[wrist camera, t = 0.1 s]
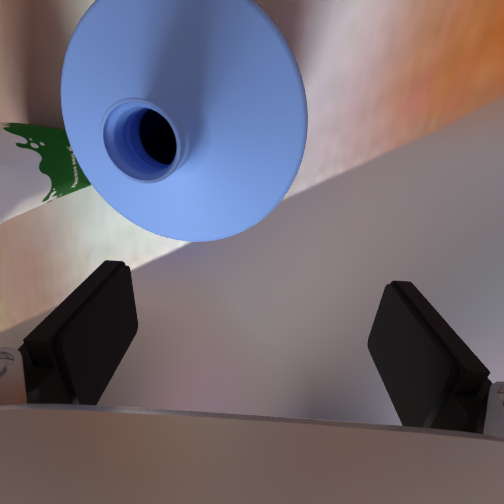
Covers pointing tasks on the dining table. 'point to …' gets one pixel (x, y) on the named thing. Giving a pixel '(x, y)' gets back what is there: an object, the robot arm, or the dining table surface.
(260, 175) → the water jug
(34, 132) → the milk carton
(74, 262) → the dining table surface
